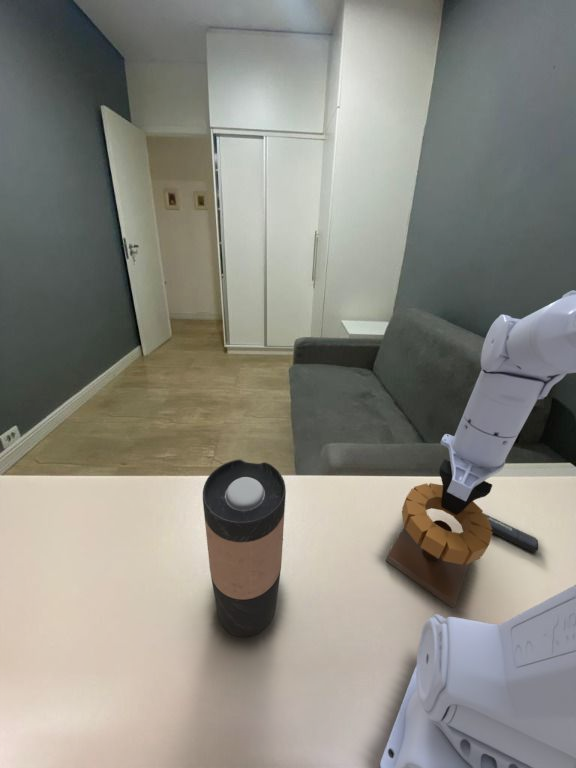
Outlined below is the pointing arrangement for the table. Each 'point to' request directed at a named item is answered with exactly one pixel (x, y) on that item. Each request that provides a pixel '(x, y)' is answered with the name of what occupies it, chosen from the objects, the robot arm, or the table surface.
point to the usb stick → (513, 534)
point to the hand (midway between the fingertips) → (453, 501)
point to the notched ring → (438, 539)
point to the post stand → (428, 567)
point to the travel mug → (245, 542)
